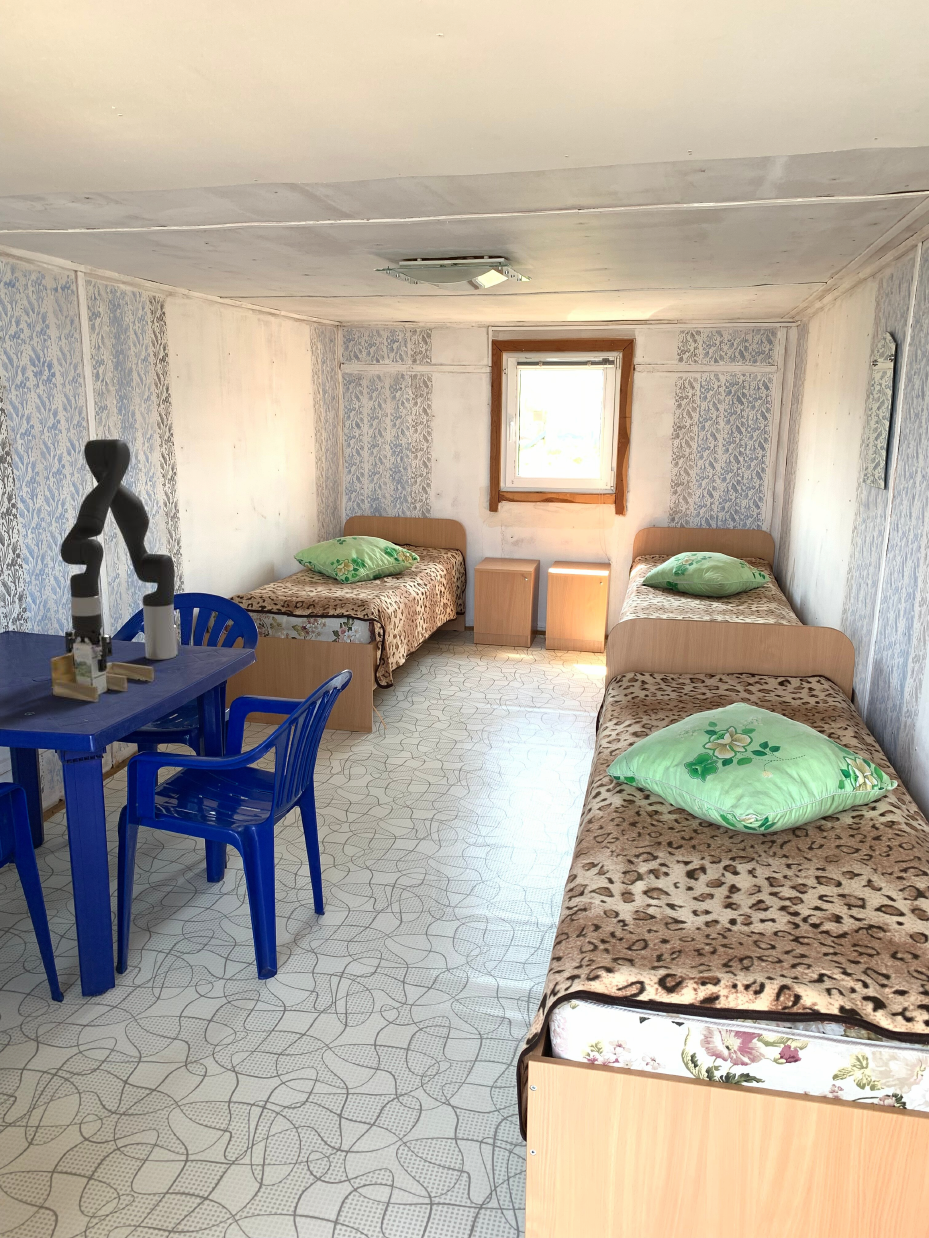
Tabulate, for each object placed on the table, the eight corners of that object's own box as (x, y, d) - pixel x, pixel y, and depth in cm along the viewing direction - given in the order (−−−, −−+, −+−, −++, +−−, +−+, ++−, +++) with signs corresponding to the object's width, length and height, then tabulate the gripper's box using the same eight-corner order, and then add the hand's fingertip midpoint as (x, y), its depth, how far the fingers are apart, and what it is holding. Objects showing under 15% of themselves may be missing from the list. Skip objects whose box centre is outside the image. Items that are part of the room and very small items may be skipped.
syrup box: (107, 691, 247) (104, 640, 244) (93, 696, 242) (89, 644, 239) (90, 688, 249) (87, 638, 246) (75, 694, 243) (72, 643, 240)
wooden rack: (112, 674, 264) (110, 642, 262) (154, 680, 258) (152, 647, 256) (51, 694, 243) (49, 659, 241) (95, 701, 237) (93, 665, 235)
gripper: (117, 611, 242) (120, 669, 245) (76, 607, 246) (80, 664, 250) (96, 616, 235) (100, 676, 238) (55, 612, 240) (59, 670, 243)
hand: (90, 669), depth 244 cm, fingers open, 8 cm apart
